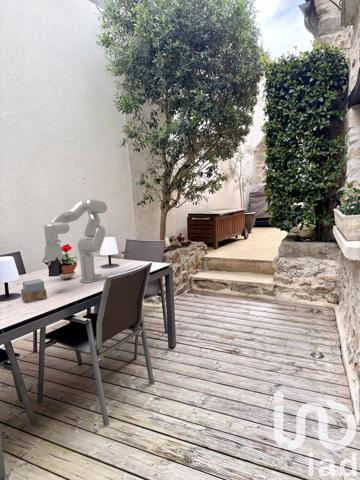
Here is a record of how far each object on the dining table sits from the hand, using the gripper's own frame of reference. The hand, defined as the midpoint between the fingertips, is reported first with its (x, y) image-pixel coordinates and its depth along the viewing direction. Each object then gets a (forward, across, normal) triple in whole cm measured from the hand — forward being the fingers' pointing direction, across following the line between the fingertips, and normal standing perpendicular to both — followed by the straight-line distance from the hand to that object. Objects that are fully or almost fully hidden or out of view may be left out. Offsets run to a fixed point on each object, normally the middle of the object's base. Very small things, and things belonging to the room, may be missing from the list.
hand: (55, 270), depth 195 cm
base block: (+15, +15, +5) cm, 22 cm away
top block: (+9, +15, +5) cm, 18 cm away
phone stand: (+3, 0, 0) cm, 3 cm away
